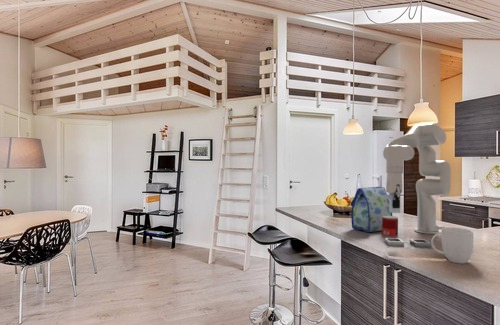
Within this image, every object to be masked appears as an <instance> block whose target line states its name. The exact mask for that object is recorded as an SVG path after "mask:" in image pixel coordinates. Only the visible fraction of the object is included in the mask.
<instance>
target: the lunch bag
mask: <svg viewBox="0 0 500 325" xmlns="http://www.w3.org/2000/svg"><path fill="white" fill-rule="evenodd" d="M387 195H388V192H387V191H386V187H383V186H372V187H371V186H369V187H360V188H359V187H358V188H357V189H356V191H355V195H354V196H353V198H352V200H351V202H350V206H351V214H350V215H351V216H350V218H351V227H352V229H353V230H359V231H363V232H366V233H370V232H371V233H372V232H373V233H374V232H379V231H381V232H382V216H393V213H391V212H389V199H387Z"/></svg>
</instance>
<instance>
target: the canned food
mask: <svg viewBox="0 0 500 325" xmlns="http://www.w3.org/2000/svg"><path fill="white" fill-rule="evenodd" d="M381 233H382V235H383V236H387V237H398V236H399V218H398V216H395V215H392V216H382V230H381Z"/></svg>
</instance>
